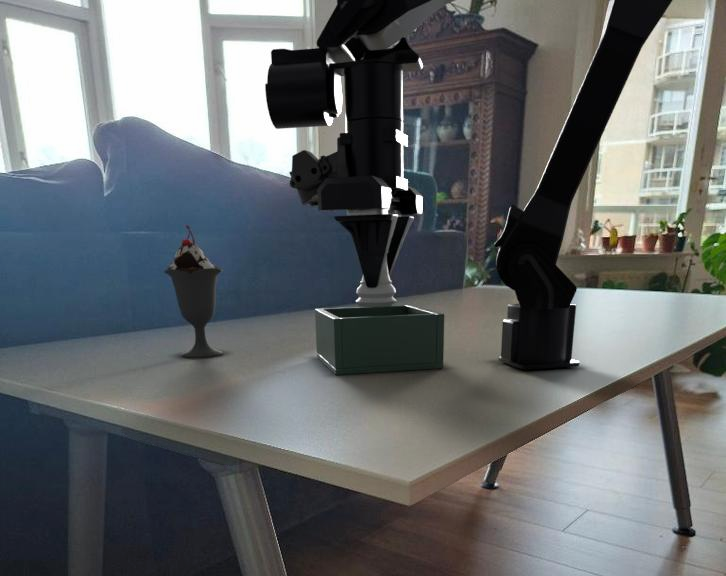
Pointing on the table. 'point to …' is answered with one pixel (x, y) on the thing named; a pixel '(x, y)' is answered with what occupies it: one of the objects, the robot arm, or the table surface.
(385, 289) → the rook chess piece
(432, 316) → the bin
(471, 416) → the table surface
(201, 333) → the sundae
